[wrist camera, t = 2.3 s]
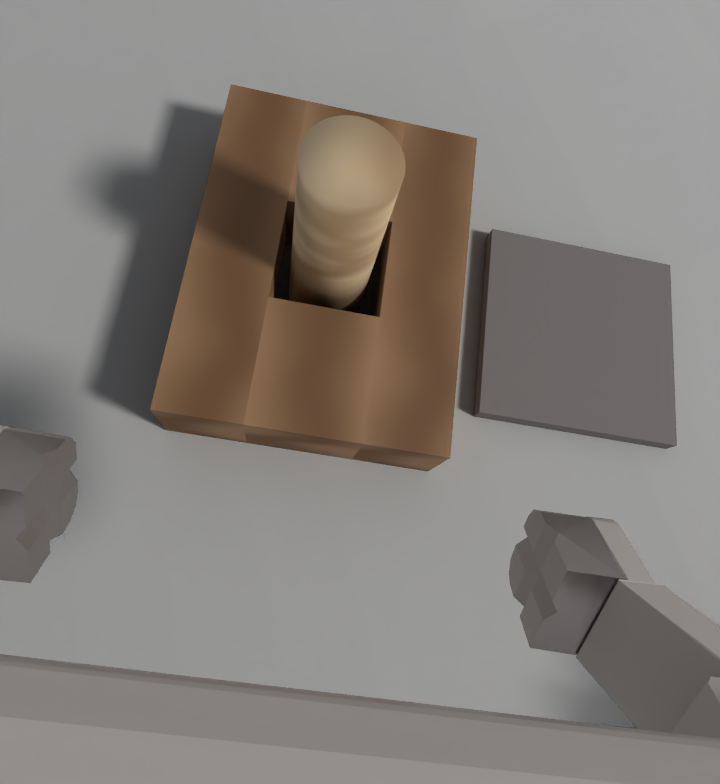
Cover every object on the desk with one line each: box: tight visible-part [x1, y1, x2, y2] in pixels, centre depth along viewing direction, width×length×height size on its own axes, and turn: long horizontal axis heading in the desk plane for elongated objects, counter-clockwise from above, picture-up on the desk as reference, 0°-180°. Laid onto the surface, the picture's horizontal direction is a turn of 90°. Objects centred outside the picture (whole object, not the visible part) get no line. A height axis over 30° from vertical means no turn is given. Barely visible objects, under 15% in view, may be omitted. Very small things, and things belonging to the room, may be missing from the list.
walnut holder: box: [150, 85, 477, 471], centre depth 27 cm, size 12×16×4 cm
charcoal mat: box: [474, 229, 677, 449], centre depth 30 cm, size 10×10×1 cm
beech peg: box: [289, 115, 406, 313], centre depth 24 cm, size 4×4×10 cm
